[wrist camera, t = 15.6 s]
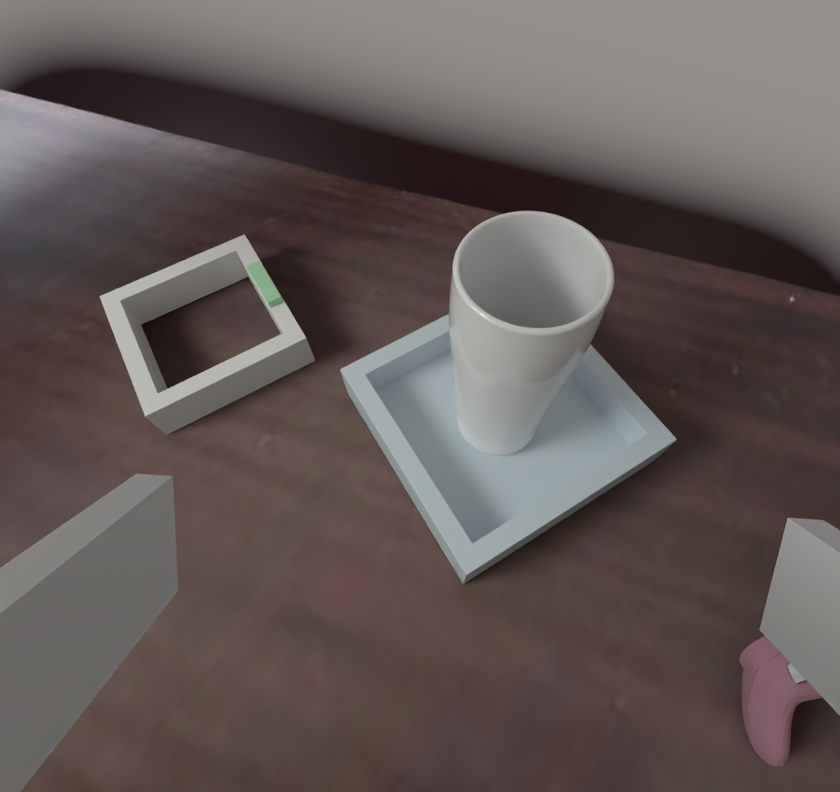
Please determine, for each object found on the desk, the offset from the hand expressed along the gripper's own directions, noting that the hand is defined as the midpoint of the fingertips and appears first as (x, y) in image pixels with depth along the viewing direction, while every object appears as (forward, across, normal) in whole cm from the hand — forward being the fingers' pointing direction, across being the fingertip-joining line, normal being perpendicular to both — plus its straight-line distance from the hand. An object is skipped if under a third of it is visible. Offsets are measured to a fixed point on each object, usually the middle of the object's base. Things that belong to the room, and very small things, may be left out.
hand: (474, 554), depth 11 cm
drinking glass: (+23, +4, -4) cm, 24 cm away
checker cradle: (+29, -17, 0) cm, 34 cm away
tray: (+24, +4, -4) cm, 25 cm away
